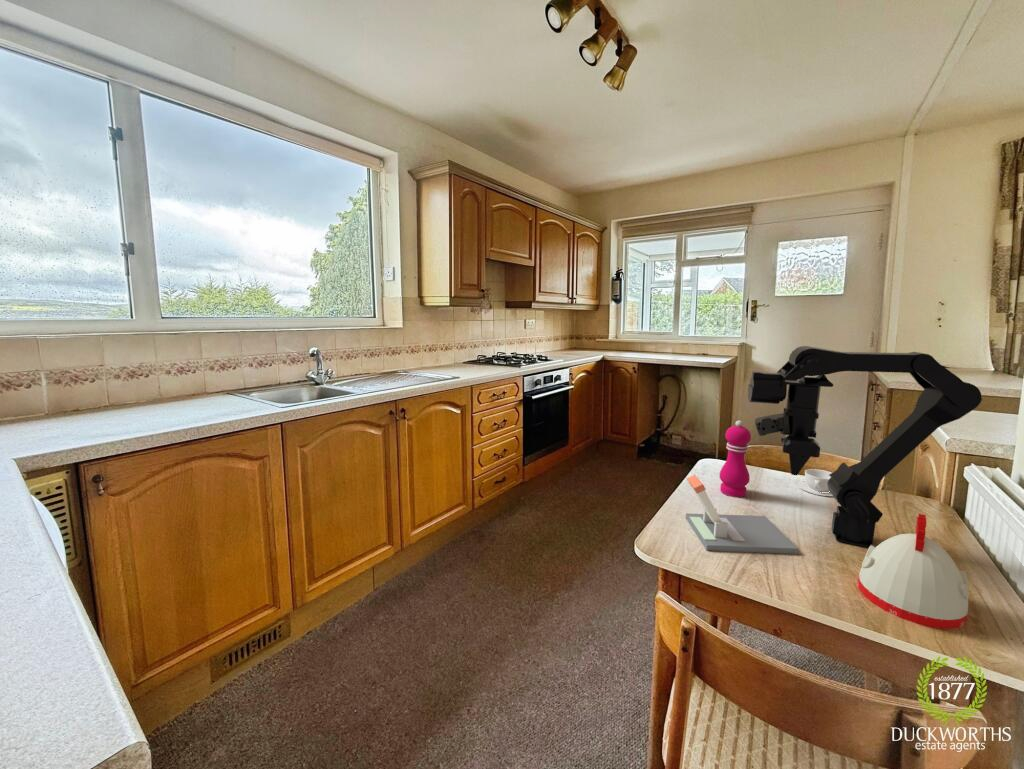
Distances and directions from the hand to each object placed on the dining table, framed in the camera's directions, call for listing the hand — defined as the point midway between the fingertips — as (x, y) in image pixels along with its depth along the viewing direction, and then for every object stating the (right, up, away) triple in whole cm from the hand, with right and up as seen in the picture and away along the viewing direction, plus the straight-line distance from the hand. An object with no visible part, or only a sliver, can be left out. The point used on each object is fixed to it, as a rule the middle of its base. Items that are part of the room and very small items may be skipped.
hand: (793, 474), depth 97 cm
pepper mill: (-3, -10, +22) cm, 24 cm away
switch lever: (-18, -10, 0) cm, 20 cm away
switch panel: (-12, -13, 0) cm, 18 cm away
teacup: (+22, -9, +24) cm, 34 cm away
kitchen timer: (+6, -17, -21) cm, 28 cm away
